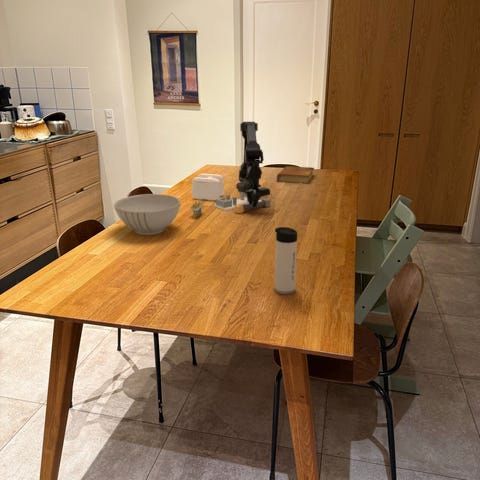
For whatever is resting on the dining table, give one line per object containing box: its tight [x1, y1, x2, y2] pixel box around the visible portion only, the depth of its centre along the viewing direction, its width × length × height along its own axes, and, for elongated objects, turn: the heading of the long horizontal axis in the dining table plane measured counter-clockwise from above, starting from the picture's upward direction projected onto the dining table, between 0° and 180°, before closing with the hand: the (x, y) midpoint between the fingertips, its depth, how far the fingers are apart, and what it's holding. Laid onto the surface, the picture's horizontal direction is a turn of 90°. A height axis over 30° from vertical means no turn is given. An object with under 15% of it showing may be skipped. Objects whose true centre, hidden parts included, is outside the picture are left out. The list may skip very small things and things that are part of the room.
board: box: [213, 191, 262, 212], centre depth 227 cm, size 23×10×5 cm, turn 128°
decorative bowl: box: [113, 193, 182, 236], centre depth 190 cm, size 27×27×12 cm
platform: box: [189, 200, 204, 219], centre depth 210 cm, size 12×18×7 cm, turn 167°
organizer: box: [190, 173, 225, 202], centre depth 237 cm, size 15×11×12 cm
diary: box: [276, 165, 315, 185], centre depth 279 cm, size 23×19×6 cm
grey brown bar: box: [233, 198, 271, 214], centre depth 219 cm, size 20×3×3 cm, turn 129°
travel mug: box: [273, 226, 298, 295], centre depth 137 cm, size 6×7×20 cm
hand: (252, 206), depth 219 cm, fingers closed on grey brown bar, 2 cm apart
